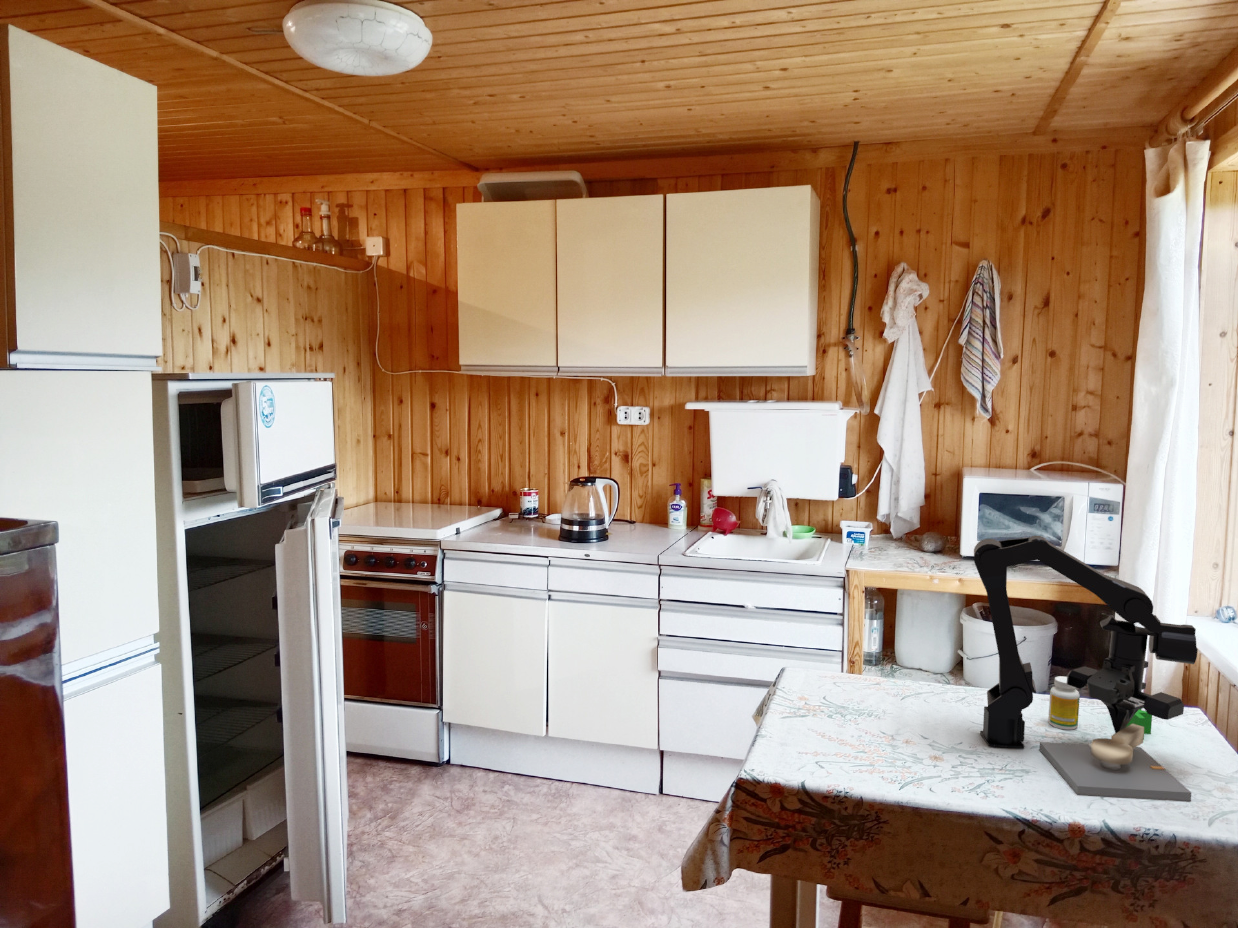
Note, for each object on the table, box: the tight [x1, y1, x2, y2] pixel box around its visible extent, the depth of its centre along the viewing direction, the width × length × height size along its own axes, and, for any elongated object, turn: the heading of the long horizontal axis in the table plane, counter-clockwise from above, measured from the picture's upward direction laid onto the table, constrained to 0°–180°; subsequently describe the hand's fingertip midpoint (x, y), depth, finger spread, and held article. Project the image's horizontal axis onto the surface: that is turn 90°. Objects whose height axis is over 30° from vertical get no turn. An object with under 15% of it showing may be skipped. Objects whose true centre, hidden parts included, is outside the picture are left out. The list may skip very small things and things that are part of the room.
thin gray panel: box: [1038, 741, 1192, 802], centre depth 156 cm, size 18×18×3 cm
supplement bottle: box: [1047, 675, 1081, 731], centre depth 178 cm, size 5×5×10 cm
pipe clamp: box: [1125, 709, 1153, 741], centre depth 176 cm, size 11×4×5 cm, turn 173°
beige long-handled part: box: [1091, 724, 1145, 765], centre depth 158 cm, size 14×6×3 cm, turn 128°
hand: (1118, 735), depth 163 cm, fingers closed
